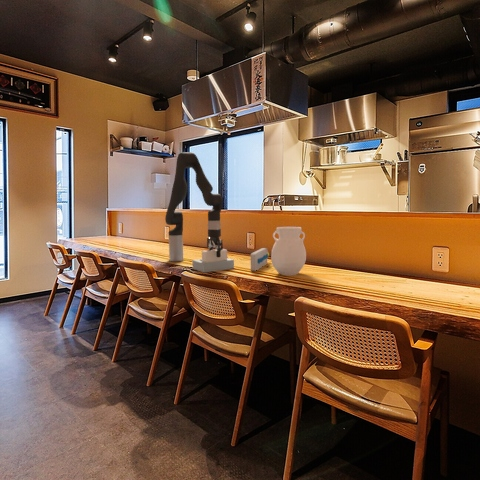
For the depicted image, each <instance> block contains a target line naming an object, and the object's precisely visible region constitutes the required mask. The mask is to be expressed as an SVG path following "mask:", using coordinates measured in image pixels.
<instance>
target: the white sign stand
mask: <svg viewBox="0 0 480 480" xmlns="http://www.w3.org/2000/svg"><path fill="white" fill-rule="evenodd" d="M216 251H217V250H216V249H213V250H209V249H208V250H202V251H201V259H202V261H203V262H214V261H222V260H227V258H228V250H227V249H226V248H223V250H221V251H220V254H221V257H217V252H216Z"/></svg>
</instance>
